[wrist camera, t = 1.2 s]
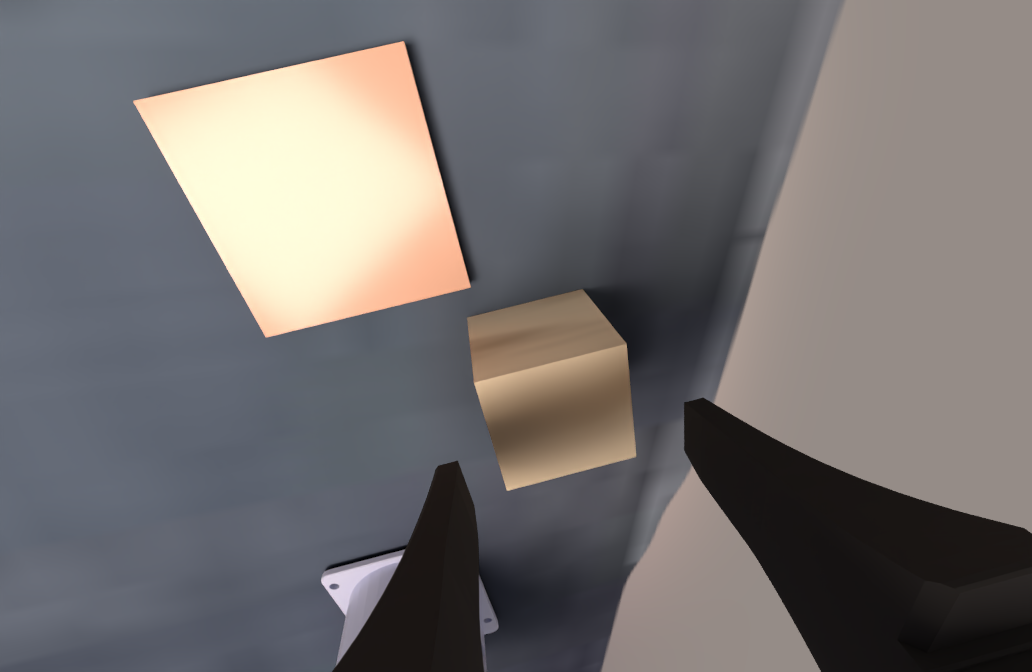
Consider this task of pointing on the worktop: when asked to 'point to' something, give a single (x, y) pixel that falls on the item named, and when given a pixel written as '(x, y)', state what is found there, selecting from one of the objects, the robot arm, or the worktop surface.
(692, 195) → the worktop surface
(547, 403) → the block
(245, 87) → the coaster
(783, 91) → the worktop surface
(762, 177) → the worktop surface
